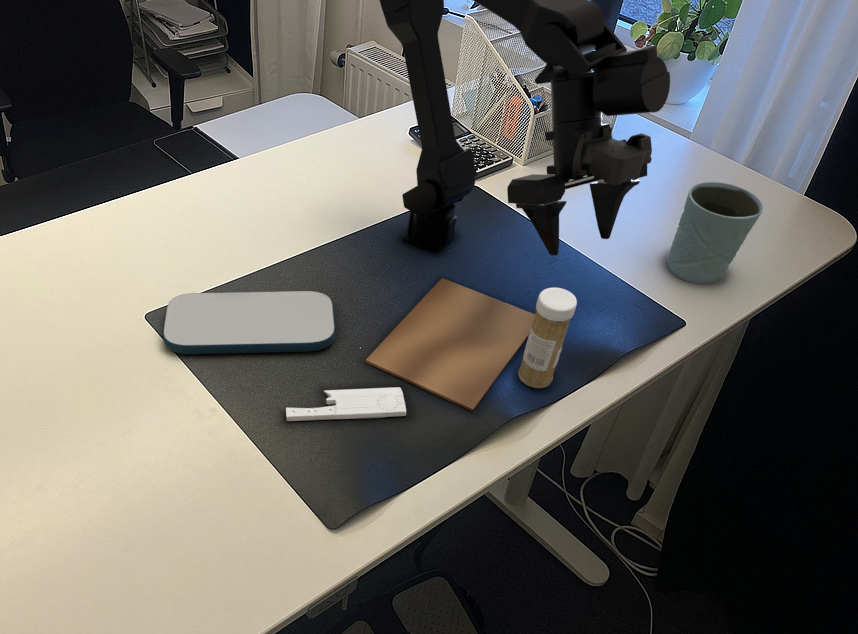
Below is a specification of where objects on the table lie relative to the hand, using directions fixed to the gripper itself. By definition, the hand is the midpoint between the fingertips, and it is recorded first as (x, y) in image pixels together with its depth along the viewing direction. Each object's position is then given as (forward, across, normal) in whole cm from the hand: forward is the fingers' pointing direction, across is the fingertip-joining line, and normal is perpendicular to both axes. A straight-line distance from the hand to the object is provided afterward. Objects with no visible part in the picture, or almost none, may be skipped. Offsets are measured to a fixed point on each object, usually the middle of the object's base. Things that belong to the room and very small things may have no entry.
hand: (580, 246), depth 97 cm
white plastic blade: (+14, -33, +9) cm, 37 cm away
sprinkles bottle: (+16, -8, +1) cm, 18 cm away
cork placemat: (+11, -13, +11) cm, 20 cm away
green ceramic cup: (+11, +30, +5) cm, 32 cm away
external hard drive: (+6, -37, +26) cm, 45 cm away
